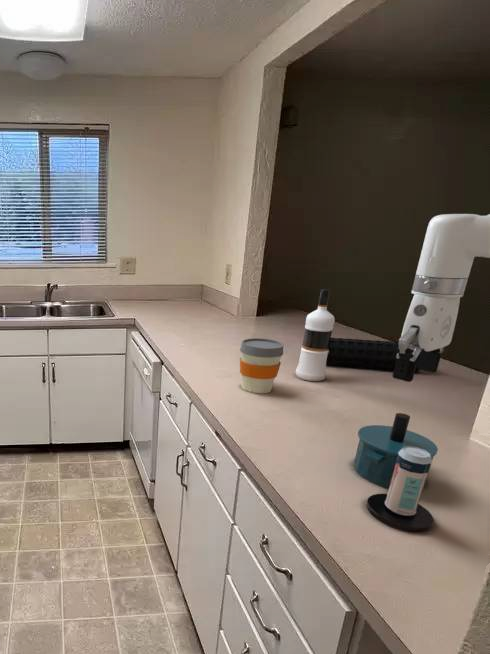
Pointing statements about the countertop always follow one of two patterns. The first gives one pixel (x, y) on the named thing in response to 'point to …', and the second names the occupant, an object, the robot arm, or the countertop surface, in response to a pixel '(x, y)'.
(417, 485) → the beer can
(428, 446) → the lid
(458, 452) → the countertop surface
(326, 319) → the vodka
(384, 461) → the pot
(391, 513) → the black plate
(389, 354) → the roller
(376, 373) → the countertop surface
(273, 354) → the reusable coffee cup
